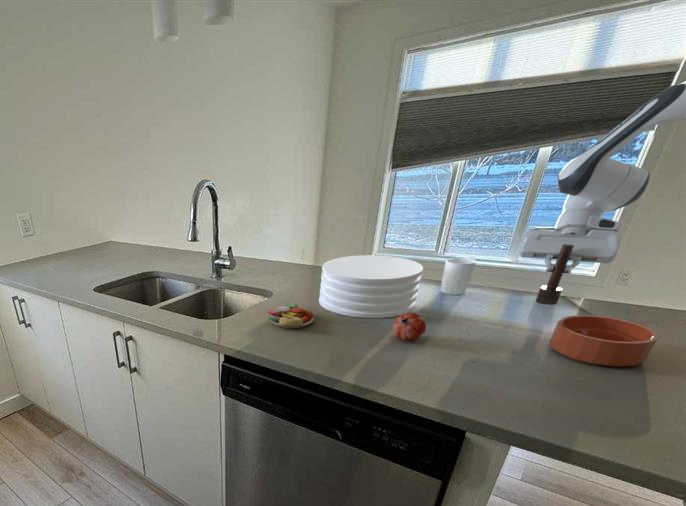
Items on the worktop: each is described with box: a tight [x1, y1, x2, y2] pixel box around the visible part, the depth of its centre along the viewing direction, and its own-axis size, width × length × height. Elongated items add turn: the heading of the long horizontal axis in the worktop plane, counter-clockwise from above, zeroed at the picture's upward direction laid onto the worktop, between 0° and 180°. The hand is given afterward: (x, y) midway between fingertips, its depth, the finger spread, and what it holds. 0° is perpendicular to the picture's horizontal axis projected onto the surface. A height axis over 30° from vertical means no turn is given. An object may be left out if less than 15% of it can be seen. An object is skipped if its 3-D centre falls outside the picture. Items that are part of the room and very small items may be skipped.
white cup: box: [440, 257, 477, 296], centre depth 128 cm, size 8×8×10 cm
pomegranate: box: [392, 311, 427, 343], centre depth 103 cm, size 7×7×10 cm
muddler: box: [535, 244, 574, 305], centre depth 114 cm, size 5×5×16 cm
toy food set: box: [267, 303, 315, 329], centre depth 120 cm, size 13×13×3 cm
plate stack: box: [318, 254, 424, 319], centre depth 126 cm, size 28×28×12 cm
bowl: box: [549, 314, 660, 367], centre depth 89 cm, size 16×16×6 cm
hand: (558, 271), depth 113 cm, fingers closed on muddler, 2 cm apart
